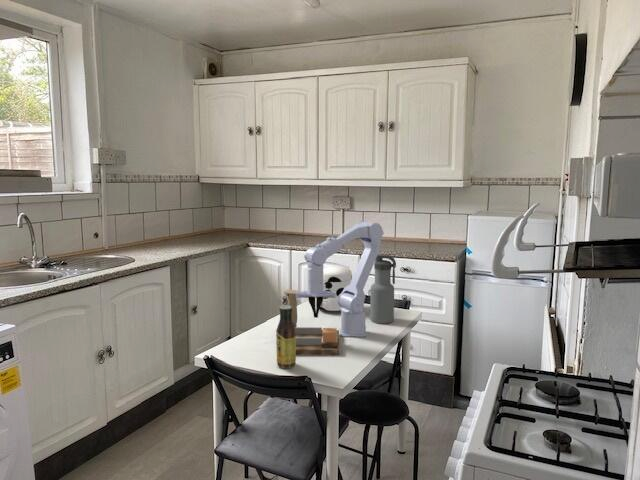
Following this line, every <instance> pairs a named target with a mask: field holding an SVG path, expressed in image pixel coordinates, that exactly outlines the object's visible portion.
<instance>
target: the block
mask: <svg viewBox="0 0 640 480" xmlns="http://www.w3.org/2000/svg"><path fill="white" fill-rule="evenodd" d="M322 330H323V342H337V330H338V329H337V327H323V328H322Z"/></svg>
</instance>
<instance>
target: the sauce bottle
mask: <svg viewBox="0 0 640 480" xmlns="http://www.w3.org/2000/svg"><path fill="white" fill-rule="evenodd" d="M275 332H276V335H275V336H276V337H275V338H276V342H275V343H276V347H275V348H276V365H277V366H278V368H280V369H291V368H294V367H295V366H296V361H297V355H296V334H295V325H294V323H293V322H292V306H289V305H288V304H287V305H281V306H279V322H278V325H277V328H276V331H275Z"/></svg>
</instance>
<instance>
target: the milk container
mask: <svg viewBox="0 0 640 480" xmlns="http://www.w3.org/2000/svg"><path fill="white" fill-rule="evenodd" d="M352 278H353V273H352V269H350V268H346V267H339V266H338V267H337V266H330V267H323V281H324V291H330V292H336V298H323V302H322V304H321V306H320V309H319V311H320V310H321V311H324V312H327V313H341V307H340V306H339V304H338V297H339V295H340V294H341V293H342V292H343V290H344V288H345V287H347V286H348V285H350V283H351V280H352ZM315 302H316V298H315Z"/></svg>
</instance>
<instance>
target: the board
mask: <svg viewBox="0 0 640 480" xmlns="http://www.w3.org/2000/svg"><path fill="white" fill-rule="evenodd" d="M296 337H321V345H296V356H340V355H341V345H340V329H337V342H323V329H322V335H319V334H296Z"/></svg>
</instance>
